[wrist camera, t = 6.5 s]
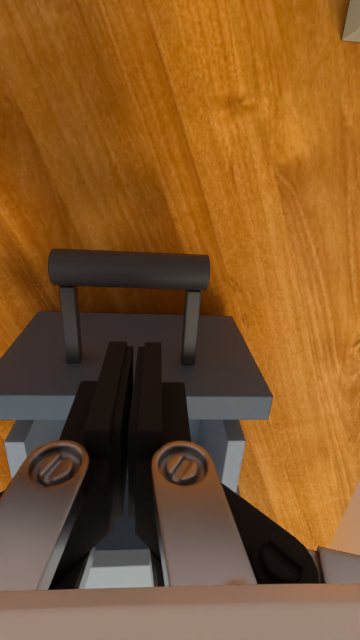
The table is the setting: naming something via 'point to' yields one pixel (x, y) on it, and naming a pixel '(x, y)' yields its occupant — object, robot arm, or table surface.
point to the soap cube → (352, 22)
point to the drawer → (177, 361)
